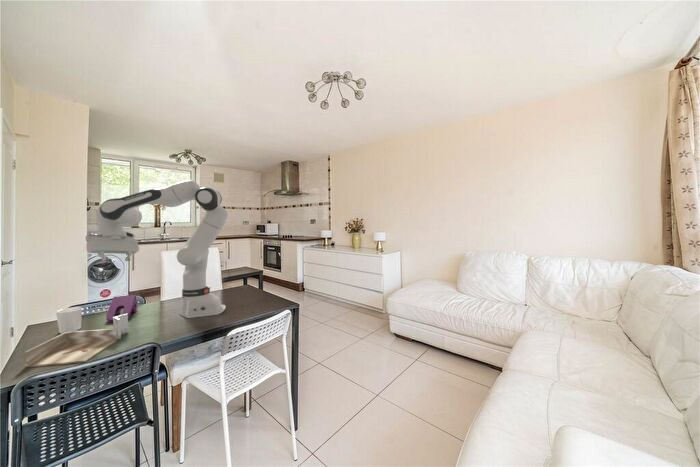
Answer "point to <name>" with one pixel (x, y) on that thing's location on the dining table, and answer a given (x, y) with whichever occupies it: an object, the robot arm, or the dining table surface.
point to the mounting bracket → (122, 306)
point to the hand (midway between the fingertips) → (117, 260)
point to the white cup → (69, 319)
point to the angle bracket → (120, 325)
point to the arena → (70, 347)
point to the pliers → (101, 311)
